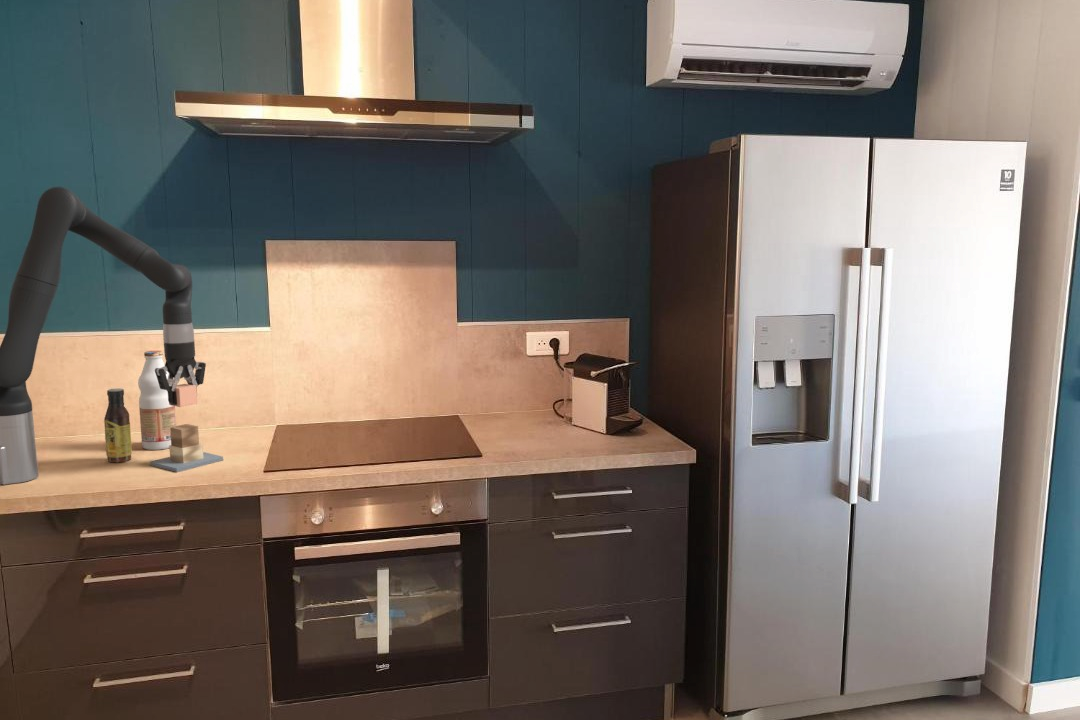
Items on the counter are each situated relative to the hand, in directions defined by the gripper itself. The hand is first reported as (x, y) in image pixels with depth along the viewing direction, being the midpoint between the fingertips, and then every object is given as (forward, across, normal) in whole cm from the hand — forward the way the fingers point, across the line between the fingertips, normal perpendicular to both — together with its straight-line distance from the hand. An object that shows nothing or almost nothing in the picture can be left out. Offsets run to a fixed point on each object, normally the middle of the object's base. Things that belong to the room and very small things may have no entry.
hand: (183, 402), depth 224 cm
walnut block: (+12, 0, 0) cm, 12 cm away
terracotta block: (0, 0, 0) cm, 0 cm away
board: (+17, 0, 0) cm, 17 cm away
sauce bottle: (+17, -9, +17) cm, 25 cm away
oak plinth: (+17, 0, 0) cm, 17 cm away
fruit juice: (+17, +6, +22) cm, 28 cm away
